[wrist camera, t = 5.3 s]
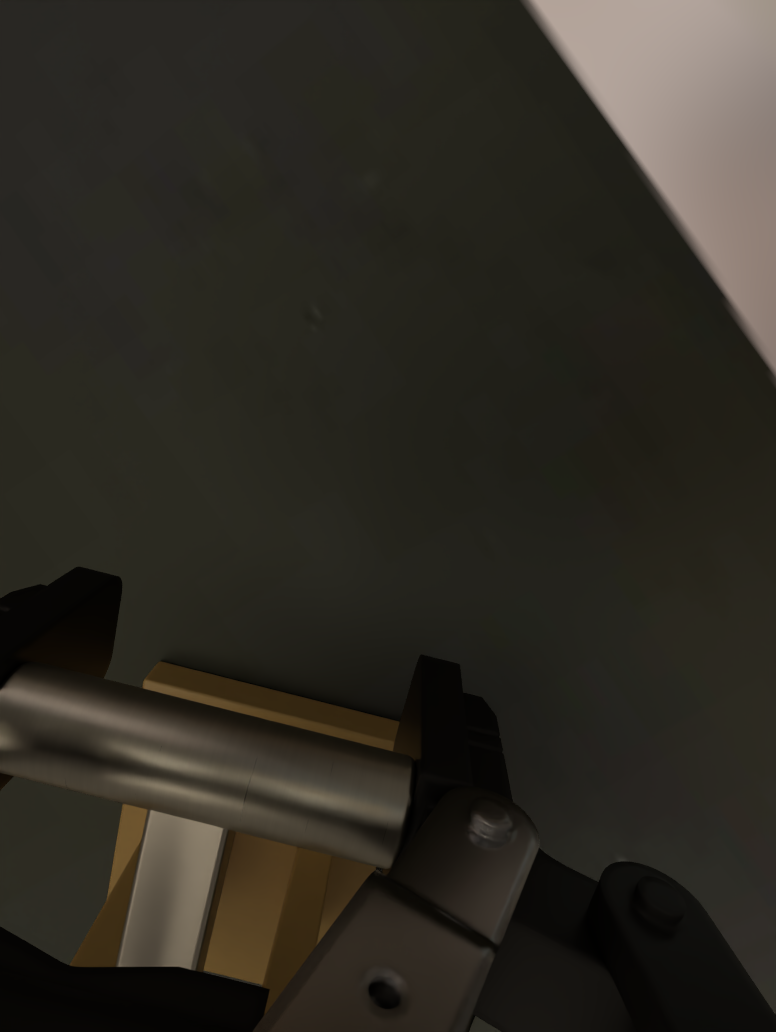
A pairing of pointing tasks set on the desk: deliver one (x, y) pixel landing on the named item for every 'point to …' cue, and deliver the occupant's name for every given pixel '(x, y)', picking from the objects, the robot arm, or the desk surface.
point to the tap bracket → (250, 852)
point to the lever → (198, 792)
